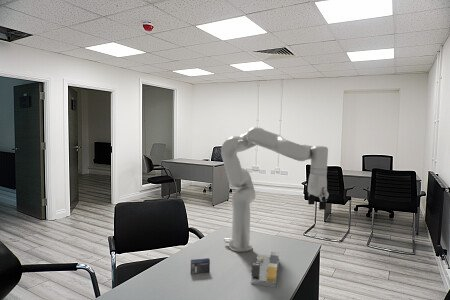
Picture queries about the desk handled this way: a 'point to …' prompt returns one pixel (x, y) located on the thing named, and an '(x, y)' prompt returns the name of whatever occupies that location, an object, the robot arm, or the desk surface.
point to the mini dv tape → (200, 266)
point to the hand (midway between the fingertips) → (316, 206)
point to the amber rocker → (271, 271)
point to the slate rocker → (274, 258)
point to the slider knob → (256, 269)
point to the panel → (263, 273)
